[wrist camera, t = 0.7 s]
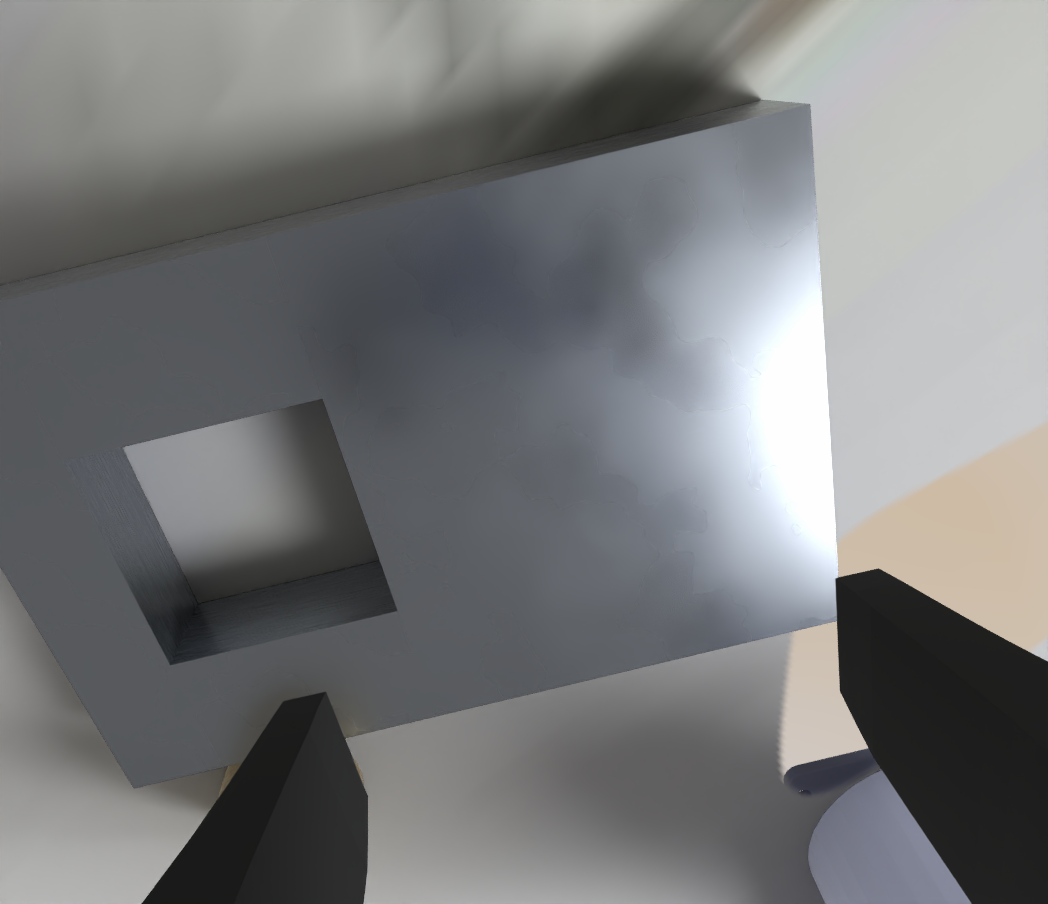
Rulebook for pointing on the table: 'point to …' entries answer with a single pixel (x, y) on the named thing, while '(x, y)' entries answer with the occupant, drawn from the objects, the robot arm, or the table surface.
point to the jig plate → (443, 437)
